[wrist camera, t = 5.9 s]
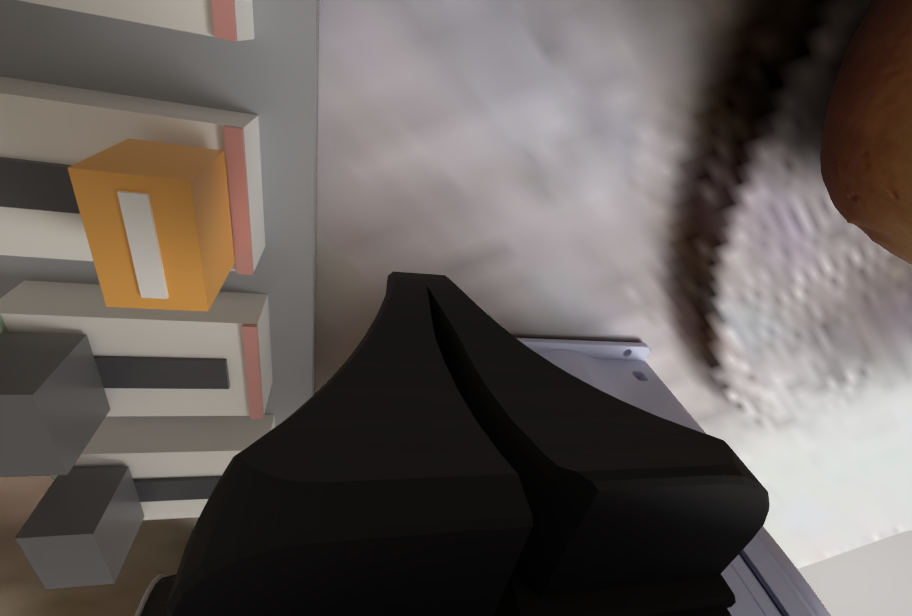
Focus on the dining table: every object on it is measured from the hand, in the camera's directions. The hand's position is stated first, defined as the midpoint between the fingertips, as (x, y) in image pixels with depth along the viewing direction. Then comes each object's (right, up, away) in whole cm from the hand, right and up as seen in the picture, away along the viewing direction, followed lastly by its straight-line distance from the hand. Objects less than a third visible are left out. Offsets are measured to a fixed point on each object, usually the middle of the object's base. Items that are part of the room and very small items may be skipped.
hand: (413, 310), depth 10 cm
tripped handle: (-7, +3, +3) cm, 8 cm away
